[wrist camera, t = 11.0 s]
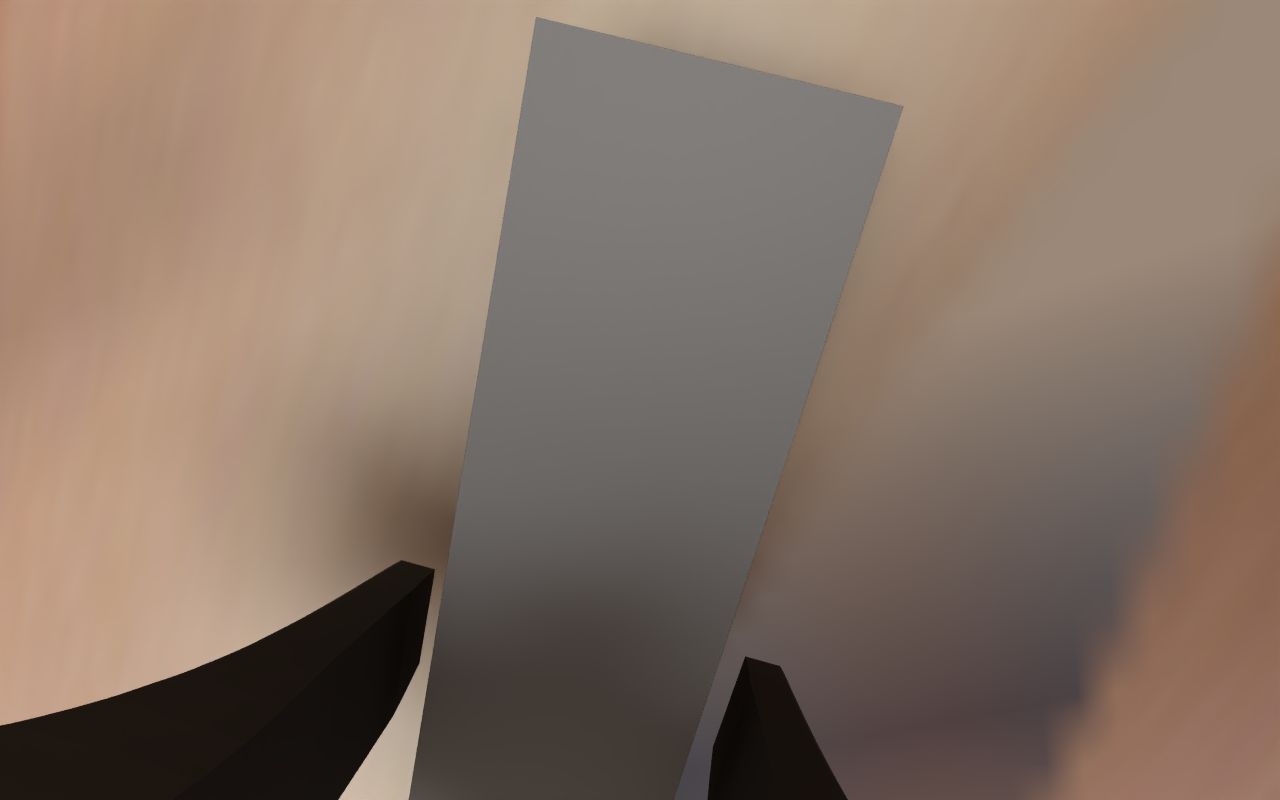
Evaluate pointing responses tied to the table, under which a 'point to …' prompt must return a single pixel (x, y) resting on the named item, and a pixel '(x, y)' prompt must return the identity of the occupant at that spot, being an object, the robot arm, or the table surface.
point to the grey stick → (633, 407)
